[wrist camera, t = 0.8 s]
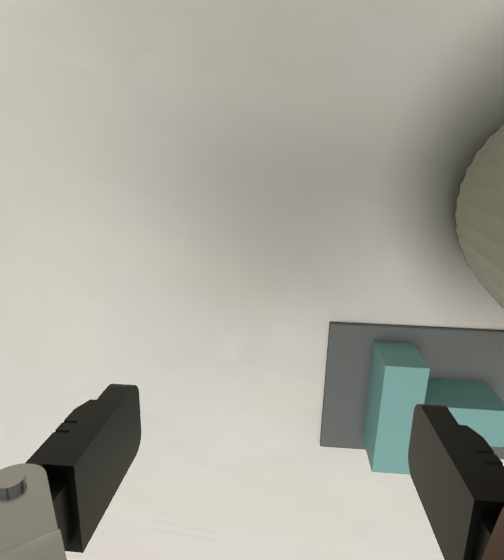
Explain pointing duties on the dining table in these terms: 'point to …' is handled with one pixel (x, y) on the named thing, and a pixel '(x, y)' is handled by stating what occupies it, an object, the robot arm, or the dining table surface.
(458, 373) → the mat
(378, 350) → the t block
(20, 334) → the dining table surface
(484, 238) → the canister
